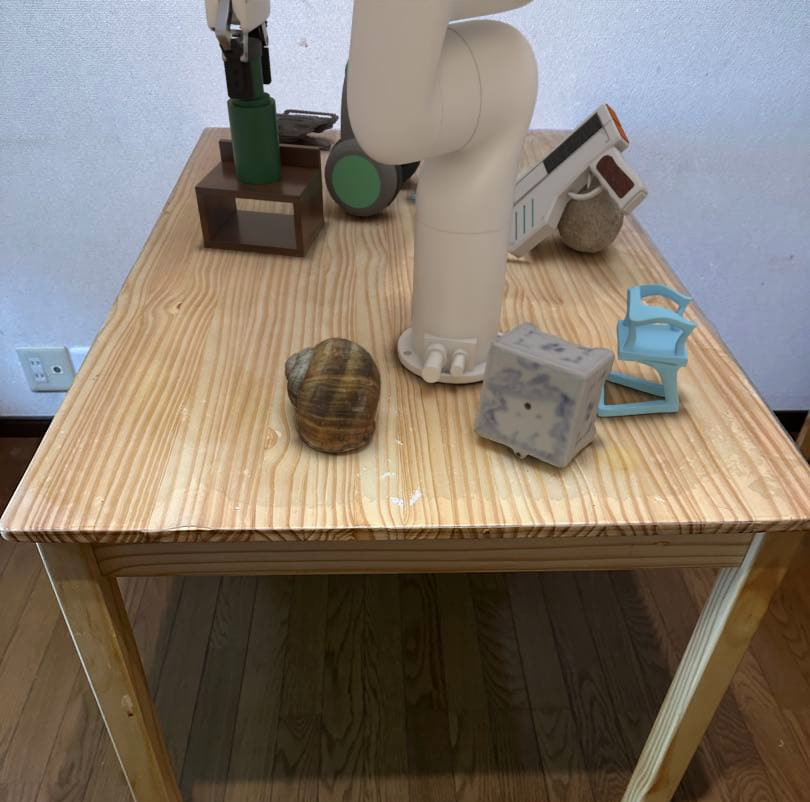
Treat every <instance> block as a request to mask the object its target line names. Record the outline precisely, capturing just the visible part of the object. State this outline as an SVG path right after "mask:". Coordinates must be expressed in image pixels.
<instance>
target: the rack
mask: <svg viewBox="0 0 810 802" xmlns="http://www.w3.org/2000/svg"><path fill="white" fill-rule="evenodd" d="M279 147H280V159H281V170H282V177H281V178H280V179H279V180H277V181H275V182H272V183H267V184H248V183H244V182H241V181H239V180H238V179H237V177H236V170H235V162H234V154H233V146H232V139H226V138H220V139H219V140H218V148H219V155H220V161H219V162H218V163H217V164H216V165H215V166H214V167H213V168H212V169H211V170H210V171H209V172H208V173H207V174H206V175H205V176H204V177H203V178H202V179H201V180H200V181H199V182H198V183H197V184H196V185H195V186H194V191H195V197H196V204H197V209H198V210H197V211H198V216H199V222H200V228H201V235H202V240H203V247H204V248H207V249H208V248H209V249H218V250H229V251H230V250H231V251H237V252H238V251H239V252H240V251H241V252H248V253H250V252H251V253H259V254H270V255H280V256H292V257H299V258H300V257H301V258H304V257H305V256H306V254H307V252H308V251H309V249H310V248H311V247H312V245H313V243H314V241H316V238H317V237H318V235H319V234H320V232H321V230H322V229H323V228H324V226H325V212H324V194H323V192H324V191H323V176H322V175H323V173H322V154H321V146H314V145H301V144H292V143H289V144H288V143H279ZM236 199H241V200H254V201H264V202H276V203H286V204H292V211H293V214H287V213H278V212H277V213H276V212H268V211H267V212H266V211H254V210H246V209H245V210H243V209H238V208H237V200H236Z"/></svg>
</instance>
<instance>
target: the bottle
mask: <svg viewBox="0 0 810 802" xmlns="http://www.w3.org/2000/svg"><path fill="white" fill-rule="evenodd" d="M232 38H233V39H236V40H237V42H238V45H239V47H240V38H238V37H232ZM261 56H262V48H261V40H260V39H257V38H252V37H248V61H251V65H252V75H253V84H254V94H255V97H254V98H253V99H252V100H243V99H231V98H228V99H227V101H226V106H227V113H228V122H229V129H230V137H231V139H230V140H232V146H233V154H234V162H235V170H236V177H237V179H238V180H239V181H241V182H244V183H248V184H267V183H272V182H275V181H277V180H279V179H280V178H281V177H282V170H281V159H280V147H279V144H280V137H279V136H278V125H277V113H278V112H277V105H276V103H277V102H276V99H275V98H273V97H272V96H271V94H269V93H268V92H266V91H265V87H264V86H265V85H264V84H263V76H262V65H261Z"/></svg>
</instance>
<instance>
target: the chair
mask: <svg viewBox="0 0 810 802" xmlns="http://www.w3.org/2000/svg"><path fill="white" fill-rule="evenodd" d="M652 296H660V297H665V298H666V299H668V300H671V301H672V302H674V303H675V304H676V305H678V307H677V309H676V311H673V310H672V309H669V308H667V307H665V306H659V305H650V304H649V305H648V304H646V303H643V301H642V299H643V298H646V297H647V298H648V297H652ZM692 300H693V297H691V296H688V295H685V294H682V293H680V292H678V291H677V290H675V289H674V288H672V287H670V286H668V285H665V284H663V283H645V284H640V285H636V286H631V287H629V288H627V289H626V312H625V313H626V315H625V316H624V319H617V323H616V327H615V328H616V338H617V339H616V341H617V360H618V361H622V362H636V363H638V364H642V365H644V366H648V367H650V368H652V369H654V370H655V371H656V372H657V373H658V375H659V378H660V380H661V383H657V382H653V381H650V380H646V379H642V378H639V377H635V376H632V375H628V374H625V373H621V372H617V371H613V370H611V372H610V374H609V376H608V377H607V378H606V380H605V381H608V382H610V383H611V382H612V383H614V384H617V385H621V386H624V387H628V388H631V389H634V390H638V391H641V392H644V393H648V394H651V395H653V396H657V397H662V398H664V399H658V400H657V399H656V400H647V401H638V402H628V403H619V404H610V405H609V404H608V405H606V404H605V385H604V386H603V388H602V393H601V398H600V401H599V405H598V411H597V413H596V416H598V417H603V418H606V417H607V418H608V417H622V416H623V417H624V416H633V415H644V414H657V413H660V414H661V413H677V412H679V408H680V397H679V390H678V371H679V370H680V369H681V368H687V364H688V361H689V356H688V355H689V354H688V349H687V345H686V342H687V340H688V338H689V336H690V335H691V334H692V332H693V331H694V330H695V328H696V327H697V326H698V323H697V322H694V321H691V320H688V319H687V318H684V317H683V315H684V313H685V311H686V308H687V307H688V305H689V304H690V303H691V301H692Z"/></svg>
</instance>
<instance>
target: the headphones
mask: <svg viewBox="0 0 810 802" xmlns="http://www.w3.org/2000/svg"><path fill="white" fill-rule="evenodd" d="M347 72H348V60H347V61H346V63H345V66H344V77H343V85H342V89H341V90H342V91H341V98H340V99H341V100H340V101H341V102H340V138H339V139H338V140H337V141H336V142H335V144H334V145H333V146H332V148H331V149H330V152H329V154H328V157H327V158H326V161H325V164H324V165H325V166H324V183H325V186H326V189H327V191H328V194H329V196H330V198H331V199H332V200H333V201H334V203H335V204H336V205H337V206H338V207H339V208H340V209H342V210H343V211H345V212H346V213H349V214H351V215H353V216H357V217H368V216H374V215H376V214H378V213H380V212H382V211H384V210H385V209H386V208H388V207H389V206H390V205H391V204H392V203H393V202H394V200H395V199H396V198H397V196H398V194H399V193H400V191H401V187H402V184H405V183H406V182H407V181H409V180H410V179H411V178H412V176H414V174H416V171H417V170H418V168H420V167H419V166H420V164H421V161H422V160H421V161H417V162H412V163H407V164H401V165H388V164H383V163H380V162H377V161H375V160H374V159H372V158H371V157H369V156H368V155H367V154H366V153H365V152H364V151H363V149H362V148H361V147H360V145H359V144H358V142H357V140H356V138H355V136H354V133H353V130H352V127H351V124H350V119H349V114H348V106H347Z"/></svg>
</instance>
